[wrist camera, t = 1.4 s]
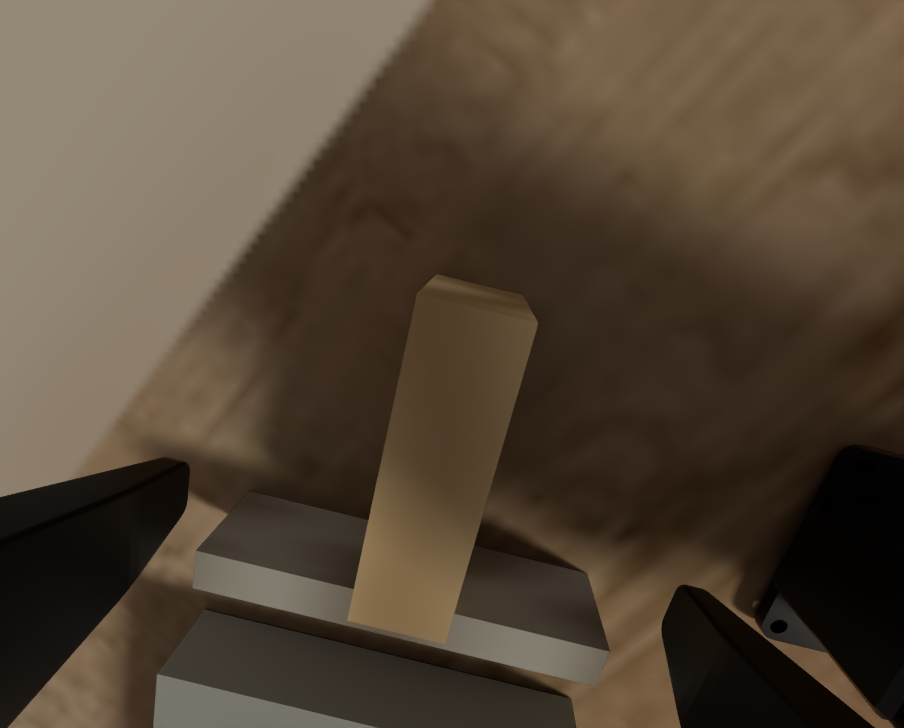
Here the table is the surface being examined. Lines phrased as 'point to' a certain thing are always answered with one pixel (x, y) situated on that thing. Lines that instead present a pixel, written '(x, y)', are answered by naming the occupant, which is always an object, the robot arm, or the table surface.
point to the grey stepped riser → (328, 686)
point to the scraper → (424, 513)
